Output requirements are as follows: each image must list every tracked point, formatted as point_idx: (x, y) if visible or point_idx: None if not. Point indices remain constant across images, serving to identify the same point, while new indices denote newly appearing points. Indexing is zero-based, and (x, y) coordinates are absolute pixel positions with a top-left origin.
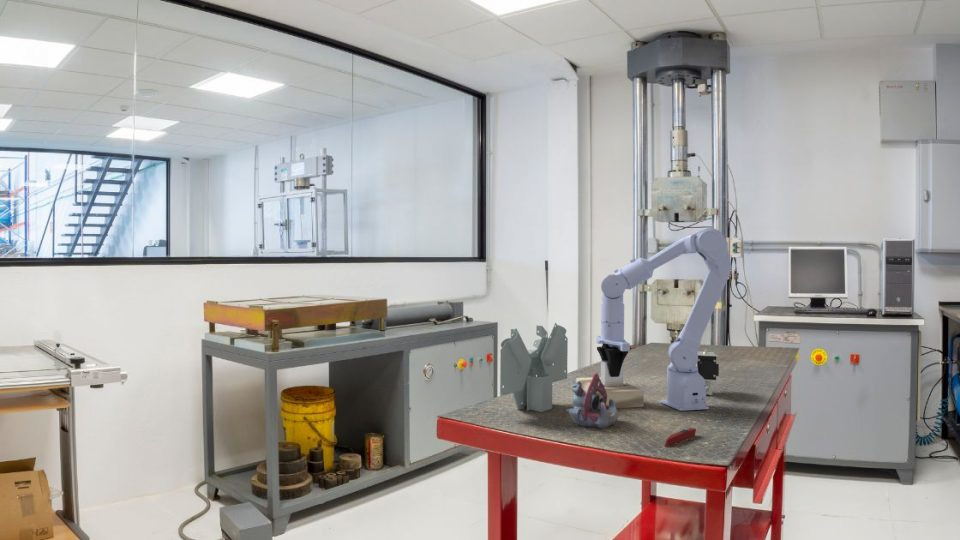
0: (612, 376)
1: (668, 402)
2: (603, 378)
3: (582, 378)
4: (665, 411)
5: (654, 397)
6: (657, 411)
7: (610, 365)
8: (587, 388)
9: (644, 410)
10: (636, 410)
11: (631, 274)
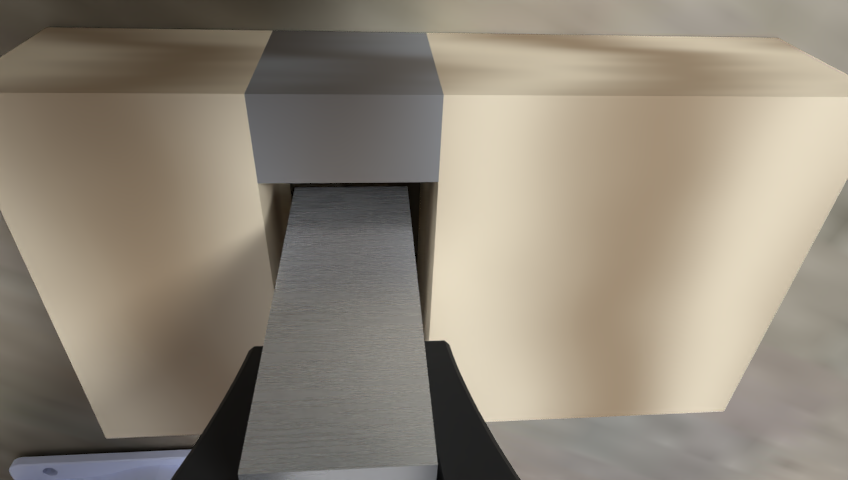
0: (249, 359)
1: (163, 470)
2: (329, 263)
3: (815, 158)
4: (11, 394)
5: None
6: (3, 357)
7: (182, 475)
8: (526, 71)
9: (25, 299)
10: (17, 251)
11: None
